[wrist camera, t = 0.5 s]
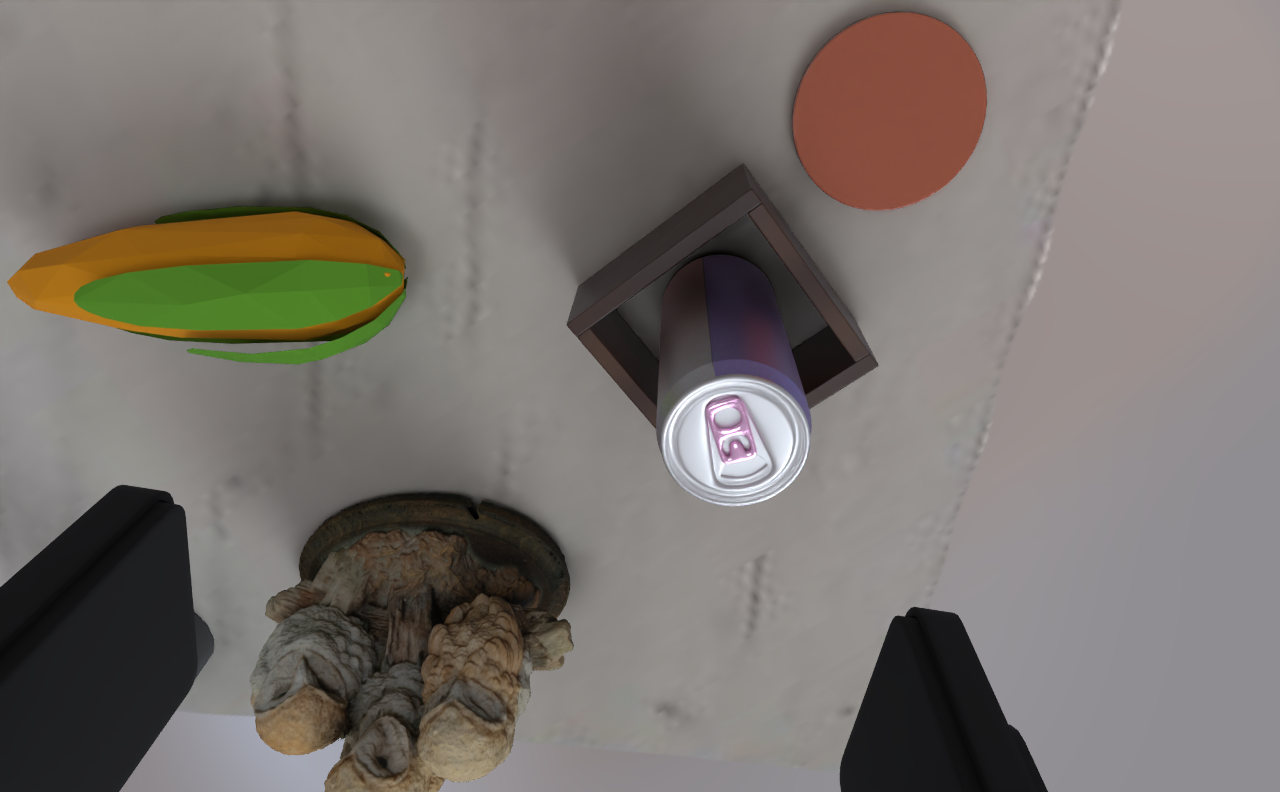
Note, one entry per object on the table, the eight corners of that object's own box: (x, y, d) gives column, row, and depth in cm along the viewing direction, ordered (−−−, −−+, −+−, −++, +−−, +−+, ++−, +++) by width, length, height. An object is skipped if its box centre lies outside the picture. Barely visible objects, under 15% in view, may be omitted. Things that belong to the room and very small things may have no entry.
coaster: (754, 96, 41) (755, 98, 40) (923, -34, 38) (926, -34, 38) (855, 243, 44) (857, 246, 43) (1017, 132, 41) (1021, 134, 41)
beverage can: (759, 236, 44) (795, 353, 30) (786, 340, 46) (831, 490, 33) (647, 268, 45) (634, 396, 31) (680, 368, 47) (681, 526, 34)
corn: (392, 384, 40) (-24, 391, 41) (435, 332, 47) (80, 339, 48) (367, 223, 37) (-79, 235, 38) (417, 194, 44) (40, 205, 45)
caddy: (577, 286, 45) (565, 324, 40) (743, 162, 42) (752, 188, 37) (696, 427, 49) (698, 479, 44) (857, 323, 46) (879, 366, 41)
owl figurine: (575, 483, 51) (531, 704, 35) (595, 636, 56) (564, 886, 41) (281, 496, 52) (117, 715, 37) (327, 645, 57) (200, 891, 42)
